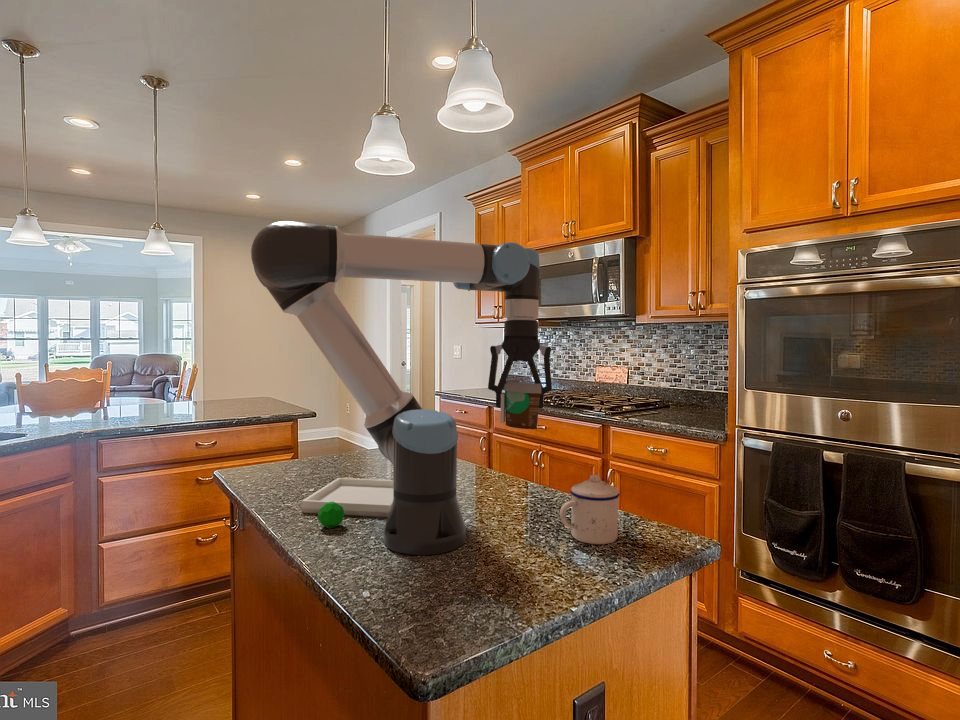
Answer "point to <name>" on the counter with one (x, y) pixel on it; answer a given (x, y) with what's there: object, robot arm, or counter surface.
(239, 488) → the counter surface
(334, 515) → the polyhedron
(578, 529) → the teacup with lid
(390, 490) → the tray
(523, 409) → the food container
